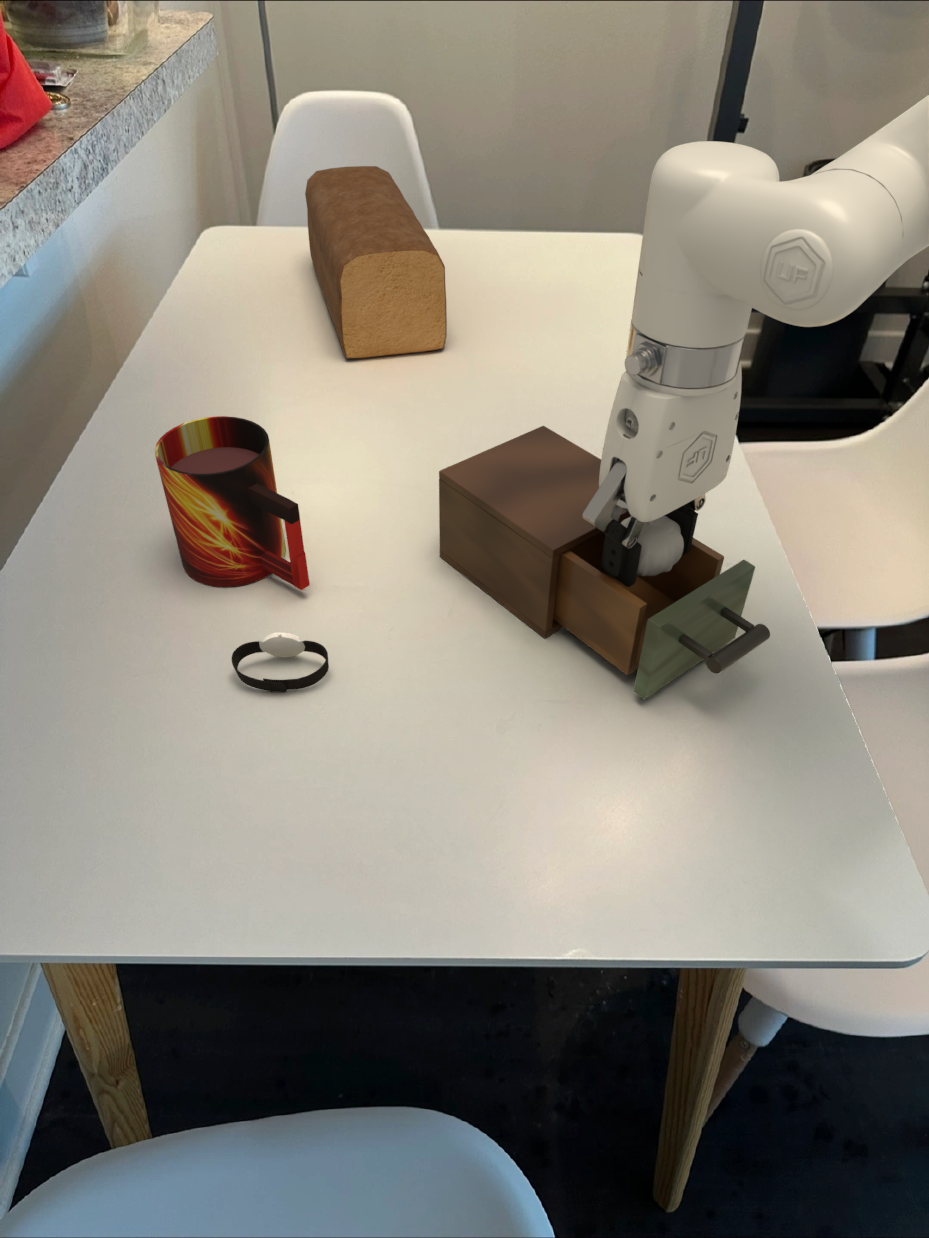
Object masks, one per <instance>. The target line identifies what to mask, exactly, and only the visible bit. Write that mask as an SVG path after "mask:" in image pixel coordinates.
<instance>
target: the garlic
mask: <svg viewBox="0 0 929 1238" xmlns="http://www.w3.org/2000/svg"><path fill="white" fill-rule="evenodd" d="M631 517H632V516H631ZM631 517H629V518H627V519H625V520H623V521H622V522H621V524H622V525H623V526H625V527H626V528H627V527H628V524H629V522H630V519H631ZM637 542H638V543H640V544H641V545H642V548H641V554H640V559H639V565H638V570H637V575H639V576H656V575H658V574H660V573H663V572H669V571H670V570H671V569H672V566H673V565H674V564H676V563H677V562H678V561H679V559H680V558H681V556H682V553H683V548H684V541H683V537H682V535H681V530H680V526H679V525H678V524H677V523H676V522H674V521H673V520H671V519H669V518H668V517H666V516H662V517H660V518H658V519H656V520H653V521H649V522H645V523H644V525H643V528H642V530H641V533H640V535H639V538H638V540H637Z"/></svg>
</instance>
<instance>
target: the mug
mask: <svg viewBox="0 0 929 1238" xmlns="http://www.w3.org/2000/svg"><path fill="white" fill-rule="evenodd" d="M270 442H271V441H270V437H269V434H268V432H267V431H266V429H265V428H264V427H262V426H261V425H260V424H258V423H256V422H254V421H252V420H249V419H247V418H243V417H238V416H228V415H227V416H226V415H224V416H223V415H222V416H221V415H219V416H218V415H217V416H208V417H201V418H197V419H193V420H190V421H185V422H183V423H181V424H179V425H176V426H174V427H172V428H171V429H169V430H168V431H167V432H165V433H164V434H163V435H162V436H161V437H159V439H158V441H157V442H156V444H155V447H154V457H155V461H156V464H157V469H158V473H159V476H160V480H161V481H160V482H161V485H162V488H163V493H164V497H165V500H166V504H167V508H168V513H169V516H170V520H171V525H172V529H173V533H174V537H175V540H176V545H177V549H178V553H179V557H180V560H181V564H182V568H183V570H184V572H185V573H186V574H187V576H189V577H190V578H191V579H192V580H194V581H195V582H198V583H200V584H202V585H205V586H209V587H212V588H213V587H214V588H237V587H242V586H247V585H250V584H254V583H256V582H258V581H259V582H260V581H261V580H263V579H265V578H267V577H268V576H270V575H274V576H276V577H278V578H280V579H281V580H283V581H284V582H286V583H288V584H290V585H292V586H293V587H295V588H296V589H298V590H300V591H303V590H305V589H306V588H309V586H310V579H309V570H308V563H307V562H308V561H307V555H306V552H305V547H304V539H303V531H302V524H301V516H300V509H299V503H297V502H295V501H294V500H292V499H290V498H288V497H285V496H284V495H282V494H280V493H278V490H277V483H276V476H275V470H274V463H273V455H272V449H271V443H270ZM282 520H283V522H284V529H285V535H286V542H287V547H286V543H285V535H284V529H283V522H282ZM287 549H288V556H289V561H288V560H286V559H285V557H286V552H287Z"/></svg>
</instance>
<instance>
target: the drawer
mask: <svg viewBox="0 0 929 1238" xmlns="http://www.w3.org/2000/svg"><path fill="white" fill-rule="evenodd" d="M630 517H631V516H630ZM628 518H629V517H628ZM626 519H627V518H626ZM624 520H625V519H624ZM621 522H622V521H621ZM621 522H620V523H621ZM604 540H605V534H604V533H603V532H600V533H598V534H596V535H594V536H593V537H591V538H589V539H587V540H585V541H583V542H581V543H579V544H578V545H576V546H574V547H572V548H570V549H568V550H566V551H564V552H563V553H561V554H559V564H558V573H557V583H556V593H555V603H554V613H553V619H554V620H555V621H556V622H558V623H559V624H560V625H561V626H563V627H564V628H563V629H565V630H567V631H568V632H570V634H572V635H573V636H575V637H576V638H577V639H578V640H580V641H581V642H582V643H584V644H585V645H587V646H588V647H589V648H591V649H592V650H593V651H594V652H596V654H598V655H599V656H601V657H602V658H604V659H605V660H606V661H607V662H609V663H610V664H611V665H613V666H614V667H615V668H616V669H618V670H620V671H621V672H622V673H624V674H625V675H626V676H629V675H631V674H632V673H634V672H635V671H637V672H636V676H635V681H634V687H633V693H635V694H636V695H638V696H639V697H640V698H641V699H643V700H646V699H647V698H649V697H651V696H652V695H654V694H655V693H656V692H658V691H660V690H661V689H662V688H664V687H665V686H667V685H668V684H669V683H671V682H673V681H674V680H675V679H676V678H678V677H680V676H681V675H683V674H684V673H686V672H687V671H688V670H690V669H692V668H693V667H694V666H696V665H697V664H699V663H700V662H702V661H705V664H706V667H707V669H708V670H709V671H710V673H712V674H715V675H718V674H721V673H723V672H724V671H725V670H727V669H728V668H729V667H731V666H732V665H733V664H735V663H737V662H738V661H739V660H740V659H742V658H744V657H745V656H746V655H748V654H749V653H751V652H752V651H753V650H755V649H757V648H758V647H760V646H761V645H762V644H764V643H765V642H766V641H768V640H769V639H770V637H771V631H770V629H769V627H768V626H766V625H765V624H764V623H757V624H753V623H752V622H750V621H749V620H747V619H745V618H744V617H742V616H743V611H744V608H745V604H746V601H747V599H748V594H749V591H750V587H751V584H752V580H753V578H754V573H755V571H756V565H754V564H753V563H751V562H749V561H748V560H746V559H742V560H741V561H739V562H738V563H736V564H734V565H733V566H731V567H729V568H728V569H726V570H724V571H723V572H721V571H722V568H723V564H724V560H725V556H724V554H722V553H720V552H718V551H716V550H715V549H713V548H711V547H710V546H709V545H706V544H705V543H703V542H701V541H699V540H698V539H697V538H695V537H693V539H692V544H691V549H690V551H689V552H688V553H686V554H682V556H681V558H680V559H679V561H678V562H677V563H676V564H674V565H673V566H672V569H671V570H670V571H669V572H663V573H660V574H658V575H656V576H639V575H637V576H636V581H635V584H633V585H632V586H630V587H627V586H625V585H624V584H622V583H621V582H619V581H618V580H616V579H615V578H614V577H612V576H611V575H609V574H608V573H606V572H605V571H603V569H602V568H601V561H602V554H603V547H604ZM738 629H741V630H742V631H743V632H744V633H742V634H741V635H739V636H738V637H737V638H736V636H737V632H738Z"/></svg>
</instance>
